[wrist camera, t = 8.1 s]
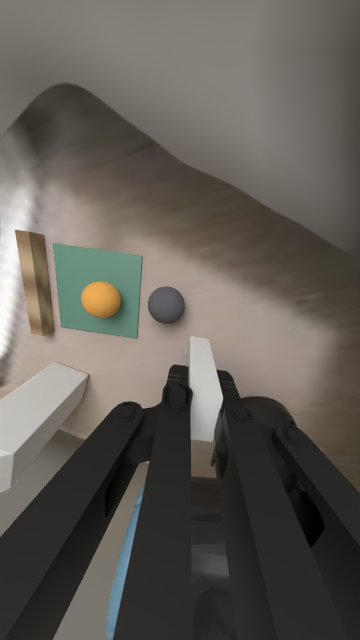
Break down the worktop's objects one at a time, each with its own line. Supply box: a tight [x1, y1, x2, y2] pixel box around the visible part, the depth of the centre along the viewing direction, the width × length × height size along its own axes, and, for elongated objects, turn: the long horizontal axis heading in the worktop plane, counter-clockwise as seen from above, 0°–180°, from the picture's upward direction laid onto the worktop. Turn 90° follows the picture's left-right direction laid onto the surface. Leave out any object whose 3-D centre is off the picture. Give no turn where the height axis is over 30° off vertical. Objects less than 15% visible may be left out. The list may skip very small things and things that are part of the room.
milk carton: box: [0, 362, 89, 493], centre depth 25 cm, size 7×7×19 cm
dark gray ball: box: [148, 287, 185, 323], centre depth 25 cm, size 6×6×6 cm
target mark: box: [53, 243, 142, 338], centre depth 28 cm, size 14×14×1 cm
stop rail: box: [15, 230, 54, 336], centre depth 27 cm, size 16×2×2 cm, turn 172°
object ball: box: [81, 281, 121, 318], centre depth 25 cm, size 6×6×6 cm
